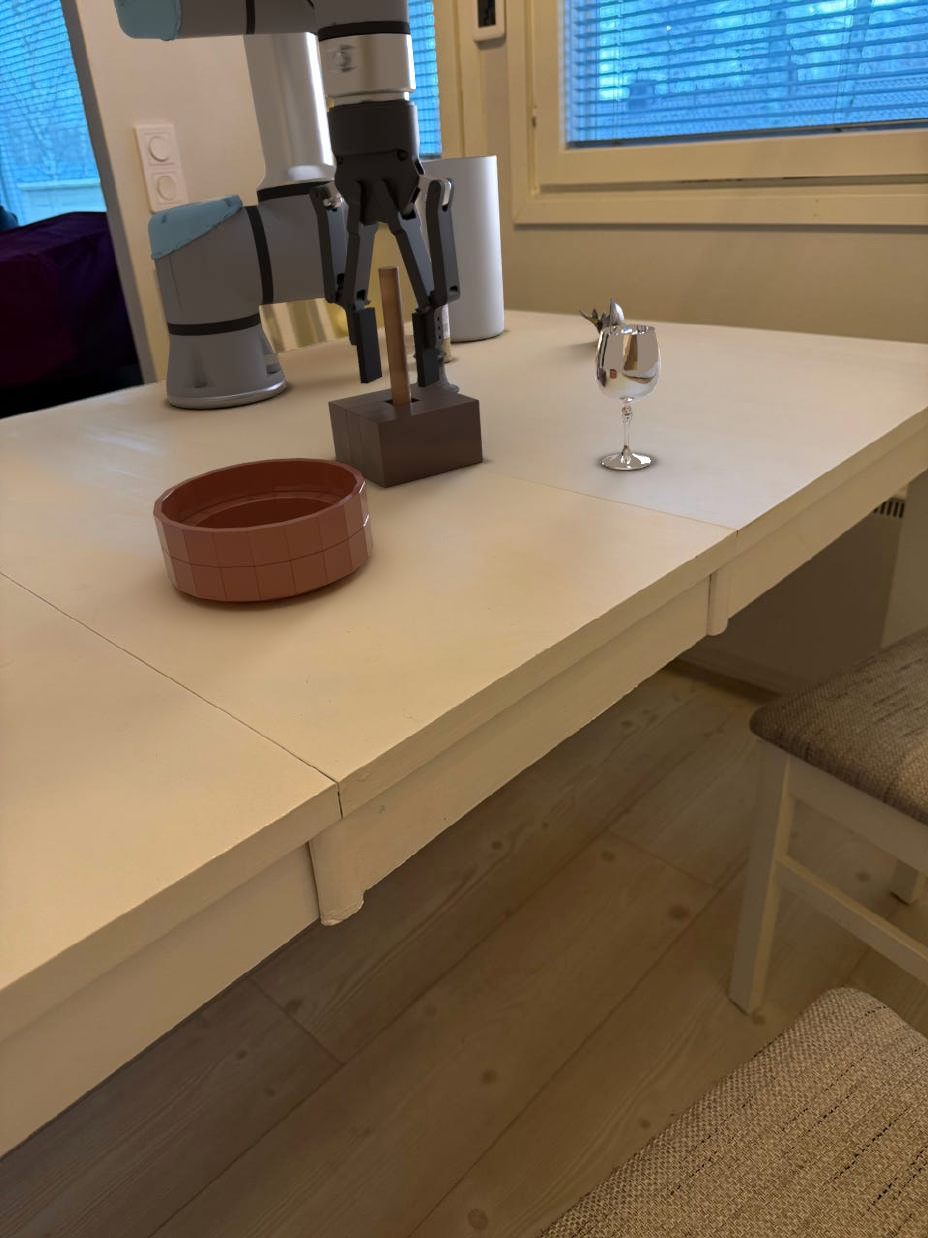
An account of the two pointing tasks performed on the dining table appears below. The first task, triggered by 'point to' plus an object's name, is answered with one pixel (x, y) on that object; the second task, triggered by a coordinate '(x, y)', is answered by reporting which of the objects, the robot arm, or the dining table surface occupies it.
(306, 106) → the robot arm
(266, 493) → the bowl
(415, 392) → the stick stand
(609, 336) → the wineglass
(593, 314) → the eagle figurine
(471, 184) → the cylinder vase
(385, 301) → the stirring stick
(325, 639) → the dining table surface
